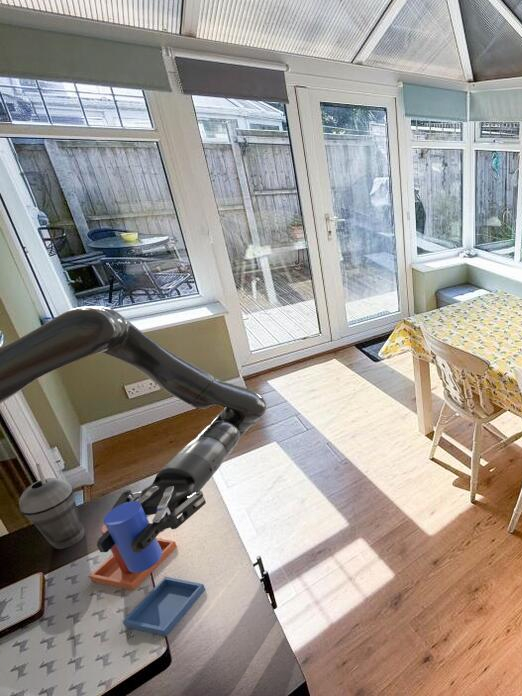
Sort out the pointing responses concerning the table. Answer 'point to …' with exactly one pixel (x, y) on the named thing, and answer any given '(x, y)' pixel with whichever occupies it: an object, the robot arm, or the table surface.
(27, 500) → the beverage cup
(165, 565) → the table surface
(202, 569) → the table surface
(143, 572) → the terracotta tray
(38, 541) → the table surface
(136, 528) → the blue canister
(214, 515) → the table surface
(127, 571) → the red canister
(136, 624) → the blue tray
